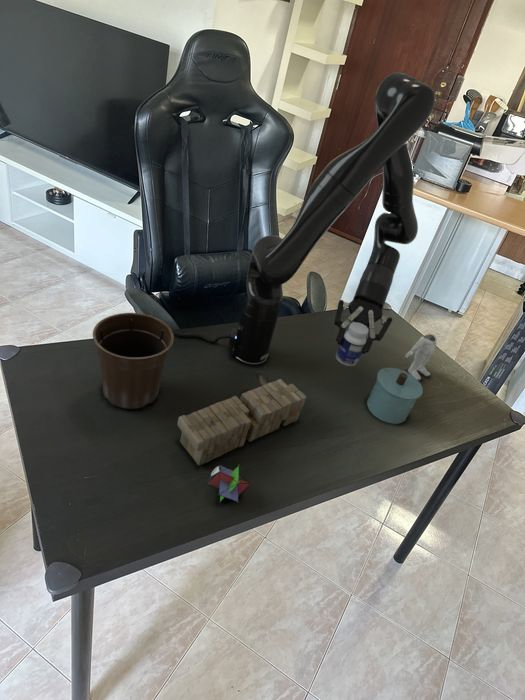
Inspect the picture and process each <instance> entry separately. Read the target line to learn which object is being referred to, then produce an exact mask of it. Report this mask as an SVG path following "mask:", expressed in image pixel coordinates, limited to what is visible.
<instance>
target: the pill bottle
mask: <svg viewBox="0 0 525 700" xmlns="http://www.w3.org/2000/svg"><path fill="white" fill-rule="evenodd" d="M347 328H348V329H346V330H345V333H344V336H343V338H342V341H341V344H340V345H339V347H337V351H336V354H335V358H336V360H337V361H338V362H339V363H340V364H342V365H344V366H347V367H354V366H356V365H357V364H358V363H359V361H360V357H361V356H362V354H363V353H362V351H363V349H364V346H365V344H366V341H367V339H368V338H367V336H368V331H369V330H368V328H367V326H365V325H364V324H362V323H358V322H354V321H353V322H352V323H351V324H350V325H349V326H348V327H347Z"/></svg>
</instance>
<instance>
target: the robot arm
mask: <svg viewBox="0 0 525 700" xmlns="http://www.w3.org/2000/svg"><path fill="white" fill-rule="evenodd" d="M435 105H436V94H435V91H434V89H433V88H432V87H431V86H430V85H428V84H427V83H424V82H422V81H421V80H419V79H417V78H415V77H414V76H412V75H409V74H407V73H404V72H400V71H399V72H397V71H395V72H392V73H390V74H388V75H387V76H385V77H384V78H383V80H382V81H381V82H380V84H379V85H378V88H377V89H376V92H375V97H374V108H375V109H374V110H375V117H376V123H377V128H376V130H375V131H374V132H373V133H372V134H371V135H370V136H369V137H368V138H367V139H365V140H364V141H362V142H361V143H359V144H358V145H356V146H354V147H351V148H350V149H348V150H346V151H345V152H343V153H341V154H340V155H338V156H336V157H335V158H334V159H332V160H331V161H330V162H328V164H327V165H326V166H324V169H322V171H321V172H320V173H319V174H318V176H317V177H316V178H315V179H314V181H313V182H312V184H311V185H310V187H309V188H308V190H307V192H306V194H305V196H304V199H303V200H302V204H301V206H300V210H299V212H298V214H297V216H296V219H295V221H294V223H293V225H292V227H291V228H290V230H288V231H287V233H286V234H285V235H284V237H283V238H282V237H280V236H278V235H272V234H270V235H266V236H263V237H261V238H259V240H257V242H256V243H255V244H254V246H253V248H252V251H251V253H250V257H249V262H248V267H247V273H246V279H245V295H244V300H243V305H242V310H241V314H240V317H239V321H238V326H237V328H236V327H231V331H230V334H220V335H217V336H216V337H215V338H210V337H208V336H205V335H204V334H200V333H194V332H193V333H191V332H190V333H189V332H188V333H184V332H180V331H177V330H175V329H174V328H172V326H170V325H169V324H167V323H166V322H165V321H163V322H164V323H166V324H167V325H168V326H169V327H170V329H171V330H172V332H173V335H174V336H177V337H182V338H199V339H202V340H203V341H205V342H208V343H212V344H213V343H217V342H218V341H219V340H223V339H229V341H228V346H231V347H233V348H232V355H231V358H232V359H235V360H237V361H238V362H240V363H242V364H244V365H247V366H259V365H262V364H264V363H266V361H267V359H268V357H269V355H270V353H269V351H270V346H271V343H272V339H273V336H274V331H275V329H276V325H277V321H278V318H279V315H280V311H281V307H282V303H283V301H284V293H283V292H284V291H283V284H286V283H287V282H289V281H290V280H291V279H292V278H293V277H294V276H295V274H296V273H297V272H298V271H299V269H300V268H301V267H302V265H303V263H304V262H305V261H306V259H307V258H308V256H309V255H310V253H311V252H312V250H313V249H314V247H315V246H316V245H317V244H318V242H319V241H320V240H321V239H322V238H323V236H324V235H325V234H326V233H327V232H328V230H329V229H330V228H331V227H332V225H333V224H334V223H335V222H336V220H338V218H339V217H340V216H341V215H342V214H343V213H344V212H345V211H346V209H348V207H349V206H350V205H351V204H352V203H353V201H354V200H355V199H356V198H357V197H358V195H359V194H360V193H361V191H363V189H364V188H365V187H366V186H367V185H368V183H369V182H370V181H371V180H372V179H373V177H374V176H375V175H376V174H377V173H378V172H379V171H380V170H381V168H382V198H381V199H382V200H381V201H382V203H381V204H382V207H383V209H384V210H385V211H386V212H382V213H381V214H380V215H379V216H377V218H376V220H375V223H374V236H373V245H372V250H371V253H370V256H369V259H368V261H367V264H366V266H365V269H364V270H363V272H362V274H361V278H359V283H358V285H357V288H356V290H355V293H354V296H353V298H352V301H350V302H347V301H344V300H343V299H339V300H338V303H337V307H336V313H335V318H334V322H333V323H334V325H335V326H337V327H338V329H339V330H338V333H337V335H336V337H335V342H337V344H336V345H339V346H340V344H341V341H342V338H343V336H344V333H345V332H346V331H347V328H349V326H350V324H351V323H353V322H358V323H362V324H364V325H365V326H366V327H367V328H368V330H369V331H368V334H367V336H368V337H367V338H366V339H367V341H366V344H365V346H364V349H363V351H362V353H361V354H363V355H366V354H368V353H369V352H370V350H371V348H372V345H373V342H374V341H377V342H380V341H381V340H382V339H383V338H384V337H385V334H386V333H387V331H388V329H389V327H390V326H391V324H392V322H393V318H392V317H391V316H390V317H388V316H386V315H384V314H383V309H384V307H385V303H386V301H387V298H388V295H389V292H390V290H391V287H392V284H393V280H394V275H395V274H396V270H397V267H398V264H399V262H400V258H401V253H400V251H399V250H398V249H396V248H395V247H393V246H391V245H389V244H387V243H386V242H388V243H394V244H399V245H410V244H411V243H412V242H414V240H416V237H417V236H418V231H419V225H418V224H419V222H418V219H417V215H416V211H415V207H414V202H413V201H414V200H413V197H414V185H415V175H414V168H413V162H412V160H411V155H410V151H409V147H408V141H409V140H411V138H412V137H413V136H414V135H416V134H417V132H418V131H419V130H420V129H421V128H422V127H423V126H424V124H425V123H426V122H427V121H428V119H429V118H430V116H431V115H432V113H433V110H434V108H435ZM347 308H348V310H349V314H350V315H349V316H348V317H347V318H346V319H345V321H342V320H341V318H342V313H343V312H345V311H346V309H347ZM379 320H381V322H380V324H381V325H382V326H381V329H380V331H379V332H378V333H376V330H375V328H376V327H375V323H376V322H378V321H379Z"/></svg>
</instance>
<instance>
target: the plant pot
mask: <svg viewBox="0 0 525 700" xmlns="http://www.w3.org/2000/svg"><path fill="white" fill-rule="evenodd" d="M164 322H165V321H163V320H162V319H160V318H159V317H155V316H152V315H151V314H145V313H139V312H121V313H116V314H111V315H109V316H107V317H105V318H103V319H101V320H100V321H98V322H97V323H96V324H95V326H94V328H93V329H92V339H93V342H94V344H95V345H96V346H95V348H96V354H97V355H98V358H99V366H100V376H101V384H102V392H103V396H104V398H105V399H107V400H108V402H109V403H110V404H111V405H113V406H116V407H118V408H121V409H127V410H135V409H142V408H144V407H146V405H149V404H152V403H153V402H154V401H155V400H156V399H157V397H158V395H159V391H160V386H161V381H162V377H163V376H162V375H163V373H164V368H165V363H166V360H167V358H168V356H169V353H170V349H171V348H172V346H173V344H174V339H175V338H174V337H175V335H174V334H173V332H172V330H171V329H170V327H171V326H170V325H169V324H168V325H169V326H170V327H169V326H168V325H167V323H166V322H165V323H164Z"/></svg>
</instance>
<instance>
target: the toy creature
mask: <svg viewBox="0 0 525 700" xmlns="http://www.w3.org/2000/svg"><path fill="white" fill-rule="evenodd" d="M436 347H437V336H436V334H425V335H423V336H421V337H419V339H418V340H417V341H416V343H415V344H414V345H412V347H411V348H410V350H409V351H408V352H407V353H406V354H405V358H406V359H409V356H412V355H414V358H413V361H412V362H411V365H410V367H408V370H407V373H409V374H411V375H412V376H413V377H415V378H416V379H417V380H418V381H420V380H422V377H421V375H420V373H421V374H422V375H423V376H425V377H430V376H432V374H431V373H430V372H429V371H428V370H427V369H426V367H425V366H426V365H427V364H428V363H429V361H430V359H431V357H432V356H433V354H434V353H435V350H436ZM419 372H420V373H419Z"/></svg>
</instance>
